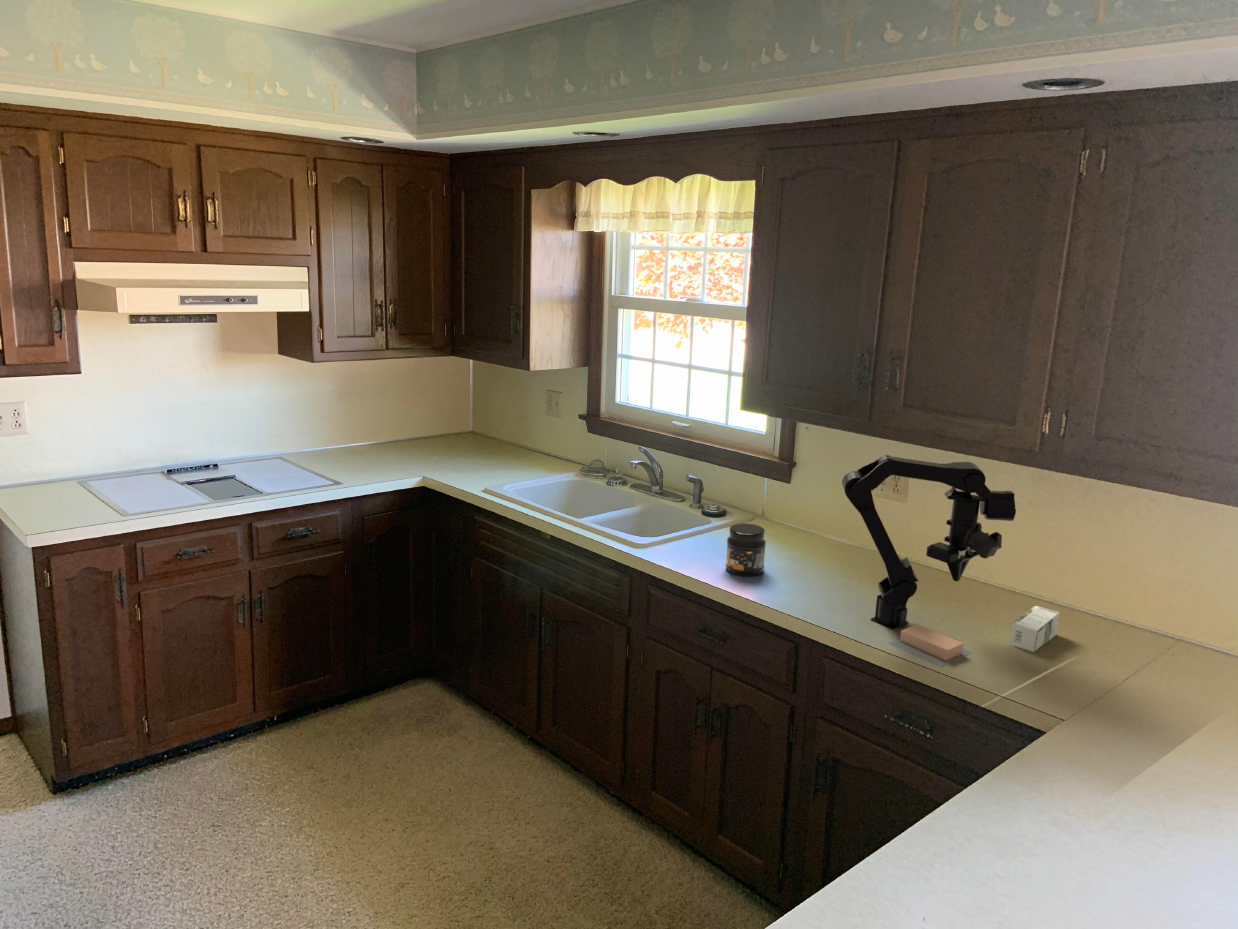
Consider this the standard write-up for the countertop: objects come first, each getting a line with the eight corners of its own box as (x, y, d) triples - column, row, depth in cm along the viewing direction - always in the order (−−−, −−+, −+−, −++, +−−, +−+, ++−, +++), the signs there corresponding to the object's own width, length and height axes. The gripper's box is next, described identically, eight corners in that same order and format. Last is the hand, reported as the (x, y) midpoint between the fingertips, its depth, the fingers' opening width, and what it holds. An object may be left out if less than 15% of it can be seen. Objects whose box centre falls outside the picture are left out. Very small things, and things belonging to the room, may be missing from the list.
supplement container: (717, 567, 249) (719, 526, 246) (746, 560, 255) (749, 520, 252) (742, 580, 241) (745, 537, 238) (772, 572, 247) (775, 531, 243)
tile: (915, 634, 211) (899, 640, 207) (917, 623, 210) (901, 630, 206) (961, 654, 201) (946, 661, 198) (963, 643, 201) (947, 650, 197)
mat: (887, 644, 206) (887, 642, 206) (919, 631, 213) (919, 629, 213) (941, 668, 195) (941, 667, 195) (972, 654, 202) (972, 652, 202)
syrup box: (1008, 645, 207) (1031, 626, 217) (1035, 654, 203) (1057, 634, 213) (1011, 622, 205) (1034, 604, 216) (1038, 630, 201) (1060, 611, 212)
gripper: (972, 535, 196) (964, 601, 201) (1019, 519, 207) (1009, 583, 212) (928, 521, 205) (920, 585, 209) (975, 507, 216) (967, 568, 220)
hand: (956, 580), depth 212 cm, fingers closed
